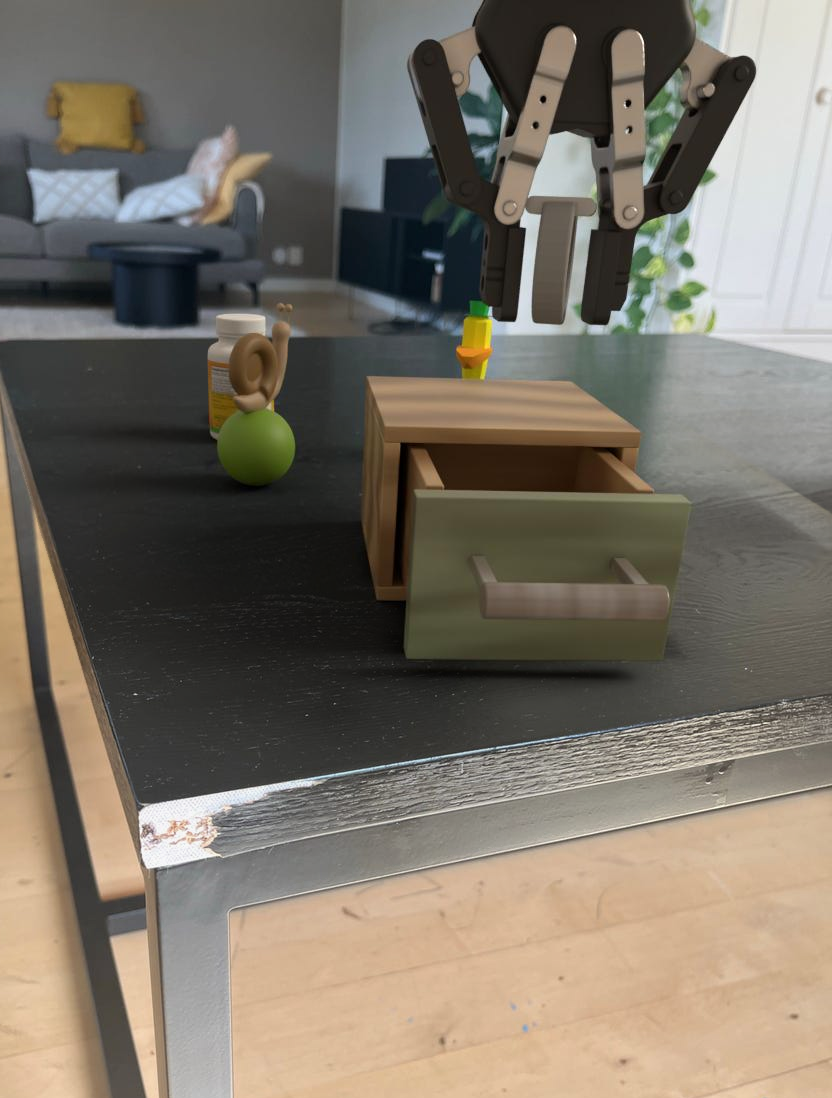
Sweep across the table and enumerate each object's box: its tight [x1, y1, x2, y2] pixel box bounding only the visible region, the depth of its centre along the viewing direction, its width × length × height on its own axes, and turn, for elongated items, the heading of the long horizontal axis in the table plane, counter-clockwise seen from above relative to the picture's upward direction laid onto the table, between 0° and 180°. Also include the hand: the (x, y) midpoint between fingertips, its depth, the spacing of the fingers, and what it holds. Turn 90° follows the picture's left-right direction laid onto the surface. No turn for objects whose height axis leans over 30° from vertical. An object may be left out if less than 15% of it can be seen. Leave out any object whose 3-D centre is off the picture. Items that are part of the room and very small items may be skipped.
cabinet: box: [360, 375, 642, 602], centre depth 56 cm, size 14×13×9 cm
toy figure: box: [455, 300, 494, 379], centre depth 76 cm, size 7×4×12 cm, turn 165°
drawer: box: [396, 443, 692, 662], centre depth 45 cm, size 17×11×7 cm, turn 3°
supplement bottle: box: [207, 313, 275, 441], centre depth 81 cm, size 5×5×10 cm
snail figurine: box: [216, 302, 296, 487], centre depth 68 cm, size 5×6×12 cm
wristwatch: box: [524, 195, 598, 326], centre depth 42 cm, size 6×3×5 cm, turn 166°
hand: (549, 319), depth 42 cm, fingers closed on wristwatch, 3 cm apart
